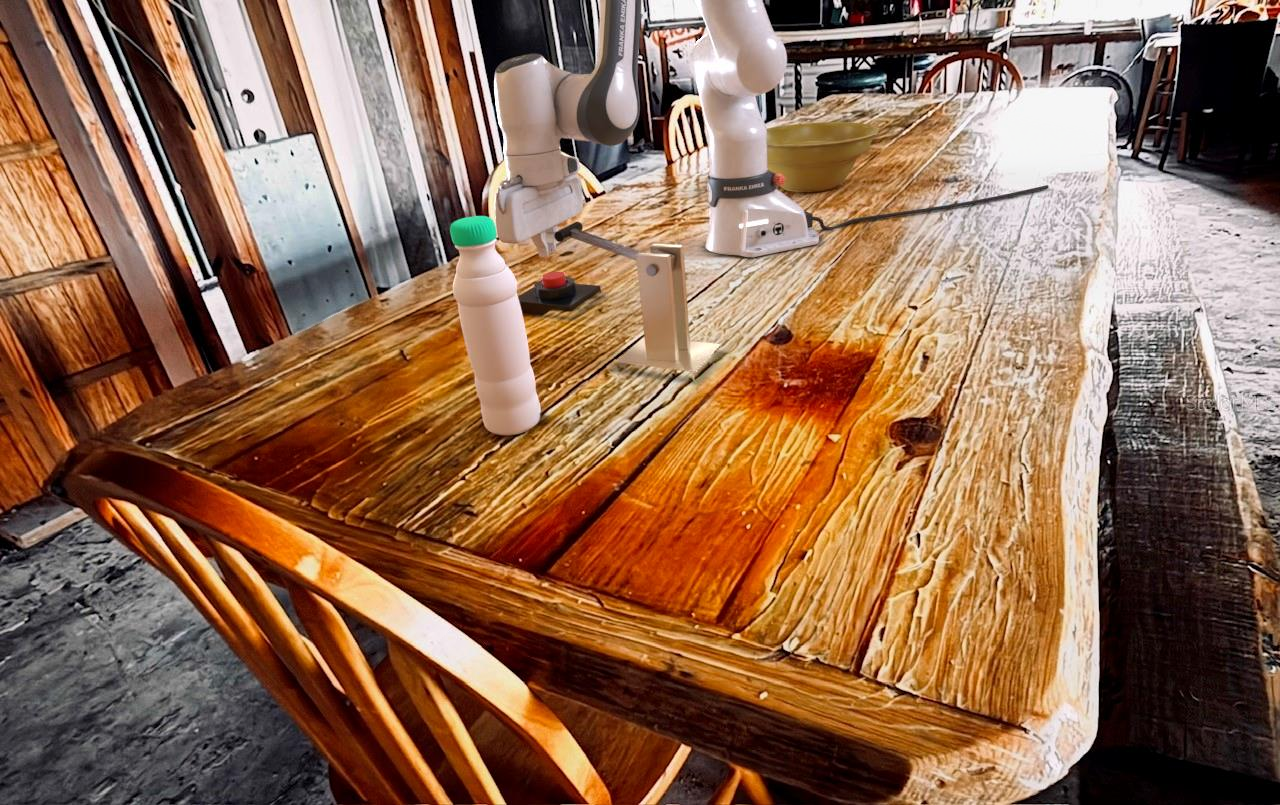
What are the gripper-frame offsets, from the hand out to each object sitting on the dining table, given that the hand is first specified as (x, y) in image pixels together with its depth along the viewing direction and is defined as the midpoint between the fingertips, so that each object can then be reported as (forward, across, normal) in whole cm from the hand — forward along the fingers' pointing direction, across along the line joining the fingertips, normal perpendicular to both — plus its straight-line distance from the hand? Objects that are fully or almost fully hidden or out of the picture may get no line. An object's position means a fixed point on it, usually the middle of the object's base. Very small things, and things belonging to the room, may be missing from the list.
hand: (547, 255), depth 118 cm
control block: (+9, 0, 0) cm, 9 cm away
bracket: (+9, -15, -29) cm, 34 cm away
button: (+5, 0, 0) cm, 5 cm away
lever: (-6, -15, -22) cm, 28 cm away
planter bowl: (+8, +90, -20) cm, 93 cm away
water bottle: (+9, -36, -18) cm, 42 cm away
